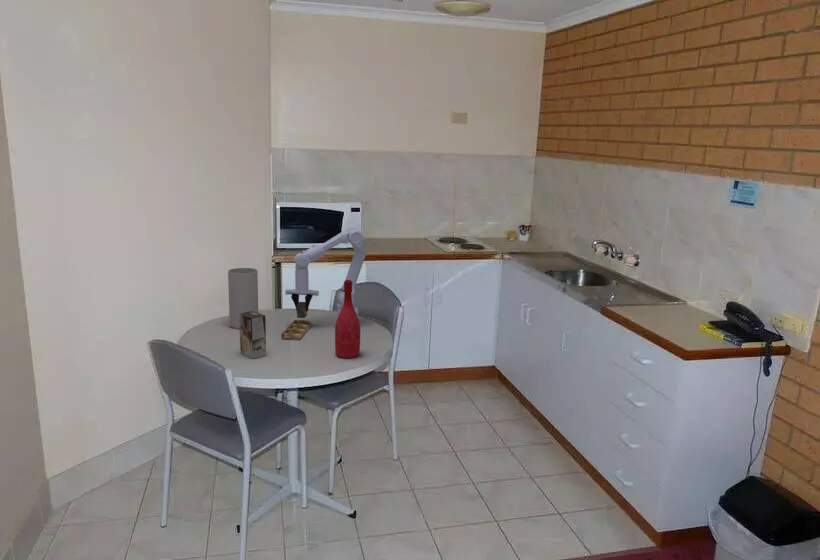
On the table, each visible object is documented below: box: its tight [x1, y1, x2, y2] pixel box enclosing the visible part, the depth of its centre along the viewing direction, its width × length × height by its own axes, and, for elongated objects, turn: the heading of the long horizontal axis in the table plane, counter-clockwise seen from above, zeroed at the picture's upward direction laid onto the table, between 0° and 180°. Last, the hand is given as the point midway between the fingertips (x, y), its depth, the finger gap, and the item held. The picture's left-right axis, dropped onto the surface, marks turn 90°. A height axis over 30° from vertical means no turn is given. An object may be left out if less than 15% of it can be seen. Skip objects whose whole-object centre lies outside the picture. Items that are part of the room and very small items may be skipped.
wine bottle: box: [334, 280, 361, 359], centre depth 243 cm, size 10×10×30 cm
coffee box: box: [239, 311, 267, 359], centre depth 242 cm, size 9×6×16 cm
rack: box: [280, 319, 313, 341], centre depth 273 cm, size 8×22×2 cm, turn 176°
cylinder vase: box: [227, 267, 259, 330], centre depth 278 cm, size 12×12×25 cm
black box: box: [296, 301, 308, 319], centre depth 278 cm, size 4×5×6 cm
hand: (302, 310), depth 278 cm, fingers closed on black box, 3 cm apart
